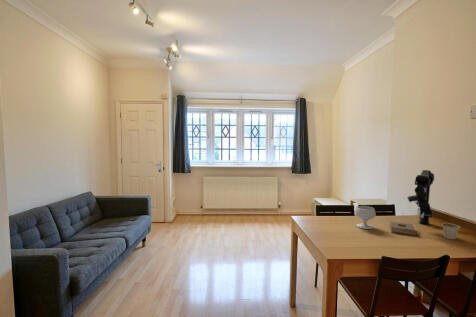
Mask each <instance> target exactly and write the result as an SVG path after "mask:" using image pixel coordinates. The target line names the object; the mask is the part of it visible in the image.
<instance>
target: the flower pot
mask: <svg viewBox="0 0 476 317" xmlns="http://www.w3.org/2000/svg"><path fill="white" fill-rule="evenodd" d="M441 227H442V231H443V237H444V238H446V239H448V240H456V239H457V237H458V236H457V235H458V232H459V230H460V228H461V226H459V225H457V224H454V223H449V222H447V223H445V222H444V223H443V222H442V223H441Z"/></svg>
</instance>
